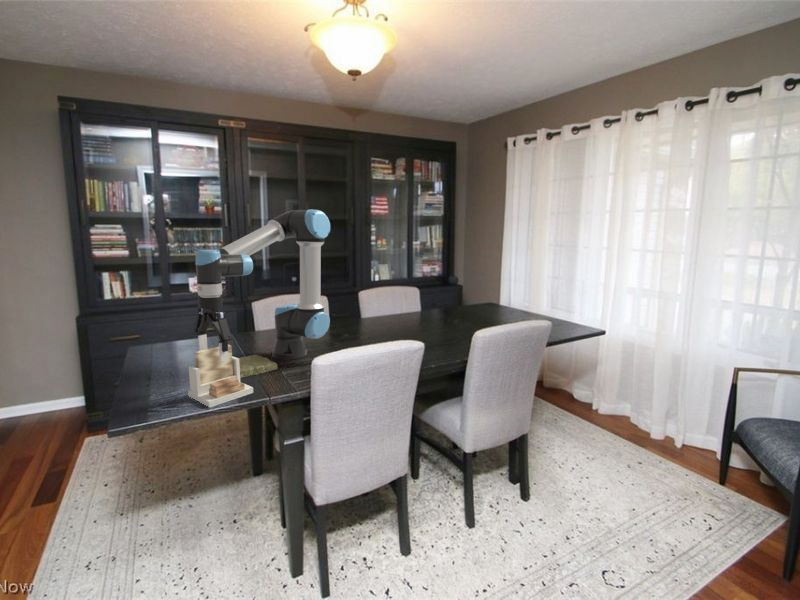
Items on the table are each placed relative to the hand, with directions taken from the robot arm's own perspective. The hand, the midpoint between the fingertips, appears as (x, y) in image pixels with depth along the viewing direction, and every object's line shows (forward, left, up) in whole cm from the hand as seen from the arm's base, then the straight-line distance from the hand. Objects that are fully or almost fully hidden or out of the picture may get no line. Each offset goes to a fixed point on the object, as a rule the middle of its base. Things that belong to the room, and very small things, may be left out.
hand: (213, 356), depth 145 cm
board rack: (0, +3, -13) cm, 13 cm away
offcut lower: (0, +7, -11) cm, 13 cm away
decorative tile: (-20, -14, -14) cm, 28 cm away
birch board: (0, 0, -11) cm, 11 cm away
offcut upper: (+1, +7, -9) cm, 11 cm away
